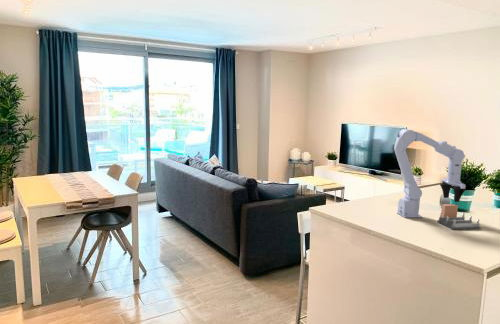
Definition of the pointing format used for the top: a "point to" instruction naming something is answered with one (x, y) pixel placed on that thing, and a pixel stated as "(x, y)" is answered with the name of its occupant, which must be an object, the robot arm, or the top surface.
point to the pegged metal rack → (458, 222)
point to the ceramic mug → (444, 200)
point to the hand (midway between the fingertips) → (451, 199)
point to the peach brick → (449, 210)
